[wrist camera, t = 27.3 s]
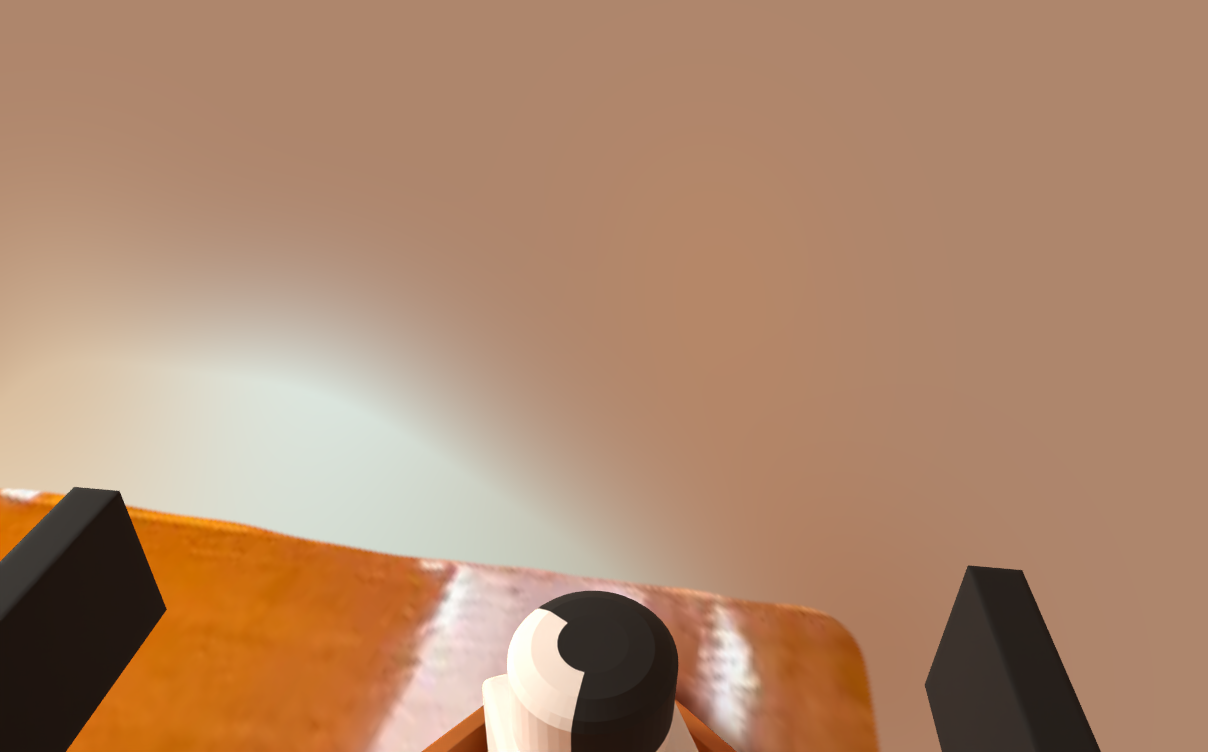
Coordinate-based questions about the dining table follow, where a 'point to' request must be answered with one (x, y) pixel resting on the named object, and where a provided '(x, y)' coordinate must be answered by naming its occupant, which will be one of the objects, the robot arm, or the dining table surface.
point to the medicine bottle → (587, 681)
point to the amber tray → (468, 744)
